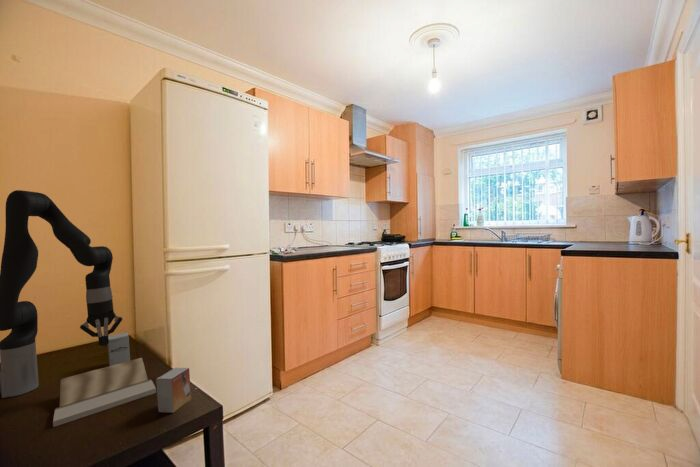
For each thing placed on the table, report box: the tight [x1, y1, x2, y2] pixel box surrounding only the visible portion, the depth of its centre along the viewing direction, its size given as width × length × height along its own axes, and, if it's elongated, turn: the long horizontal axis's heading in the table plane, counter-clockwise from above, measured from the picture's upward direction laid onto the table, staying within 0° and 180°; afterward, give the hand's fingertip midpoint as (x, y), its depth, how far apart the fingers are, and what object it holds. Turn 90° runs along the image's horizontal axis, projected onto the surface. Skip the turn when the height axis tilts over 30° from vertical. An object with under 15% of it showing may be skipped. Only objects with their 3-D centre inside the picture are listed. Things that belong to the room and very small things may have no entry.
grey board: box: [52, 379, 157, 428], centre depth 104 cm, size 26×10×2 cm, turn 131°
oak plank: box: [59, 357, 149, 407], centre depth 113 cm, size 24×14×2 cm, turn 131°
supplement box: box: [107, 332, 131, 366], centre depth 137 cm, size 7×7×13 cm
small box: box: [155, 367, 192, 414], centre depth 99 cm, size 8×6×10 cm
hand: (104, 346), depth 116 cm, fingers closed
